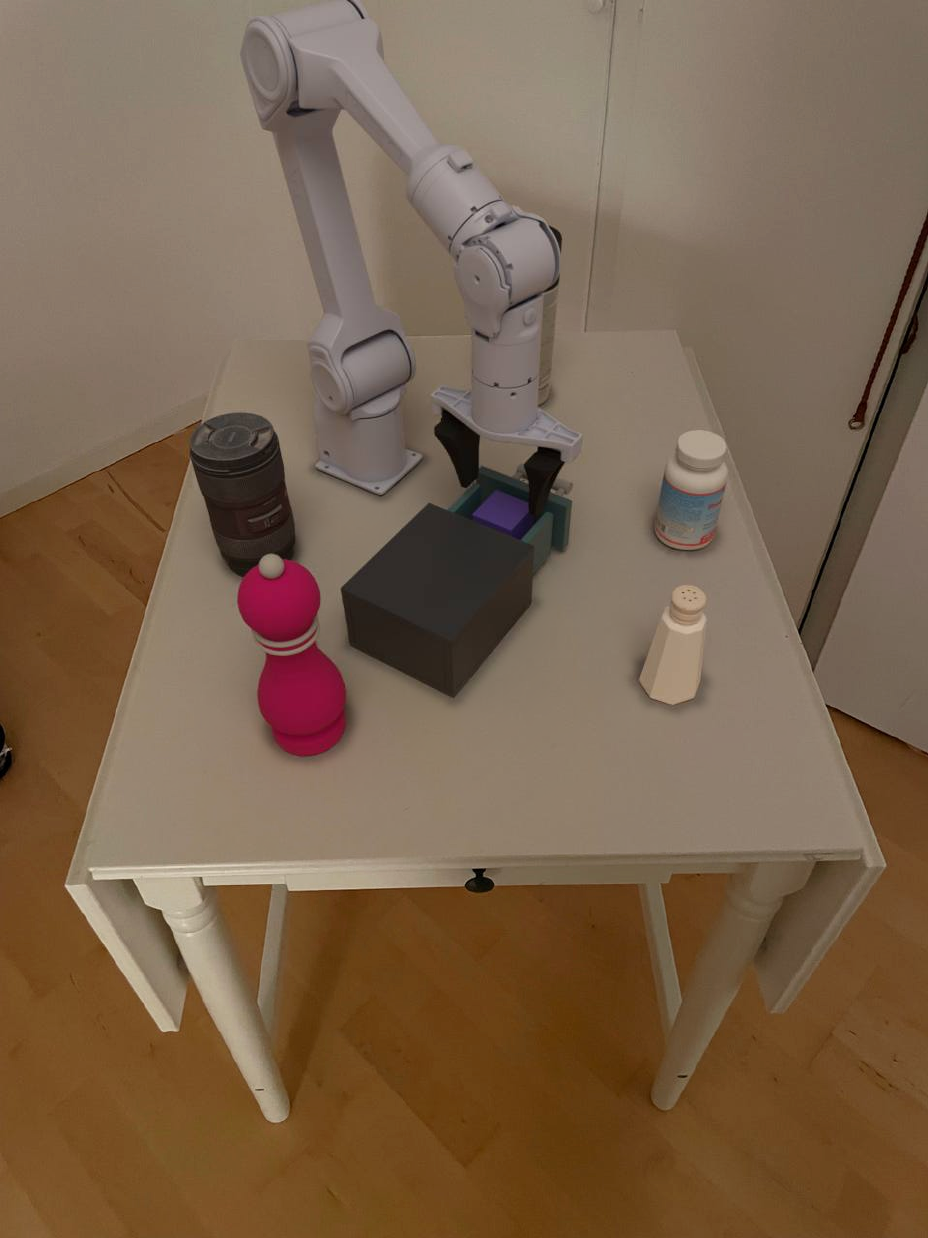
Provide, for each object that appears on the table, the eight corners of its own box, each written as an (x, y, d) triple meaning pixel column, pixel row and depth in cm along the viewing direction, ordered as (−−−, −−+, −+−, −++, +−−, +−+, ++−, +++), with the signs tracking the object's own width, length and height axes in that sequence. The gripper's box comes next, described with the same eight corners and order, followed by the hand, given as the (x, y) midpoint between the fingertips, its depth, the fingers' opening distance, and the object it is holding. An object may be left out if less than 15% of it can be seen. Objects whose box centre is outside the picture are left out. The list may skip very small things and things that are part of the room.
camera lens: (306, 529, 96) (283, 408, 85) (294, 584, 91) (268, 462, 80) (229, 529, 96) (197, 408, 85) (213, 583, 91) (176, 462, 80)
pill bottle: (712, 556, 92) (735, 466, 84) (651, 548, 93) (668, 459, 85) (714, 517, 96) (735, 428, 88) (655, 510, 97) (671, 422, 89)
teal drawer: (504, 486, 99) (504, 442, 95) (589, 519, 95) (594, 475, 91) (413, 579, 89) (410, 535, 85) (504, 621, 86) (505, 577, 81)
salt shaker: (635, 658, 83) (651, 571, 75) (695, 659, 83) (718, 572, 75) (641, 705, 80) (659, 619, 72) (704, 706, 79) (729, 620, 71)
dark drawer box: (432, 560, 93) (429, 502, 87) (531, 604, 88) (534, 545, 83) (349, 645, 85) (340, 588, 79) (453, 698, 81) (451, 641, 75)
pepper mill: (280, 773, 76) (231, 606, 61) (257, 709, 80) (206, 540, 65) (363, 744, 77) (334, 574, 63) (336, 683, 82) (304, 512, 67)
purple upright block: (472, 548, 91) (471, 514, 88) (495, 523, 93) (496, 489, 90) (510, 564, 89) (511, 530, 86) (533, 538, 92) (534, 504, 88)
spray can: (499, 377, 115) (503, 218, 100) (552, 382, 114) (565, 223, 99) (491, 407, 111) (495, 246, 96) (547, 413, 110) (559, 251, 95)
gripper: (604, 372, 76) (590, 498, 86) (459, 325, 82) (462, 449, 92) (563, 414, 72) (553, 541, 82) (414, 361, 78) (421, 487, 88)
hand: (502, 495), depth 87 cm, fingers open, 7 cm apart
